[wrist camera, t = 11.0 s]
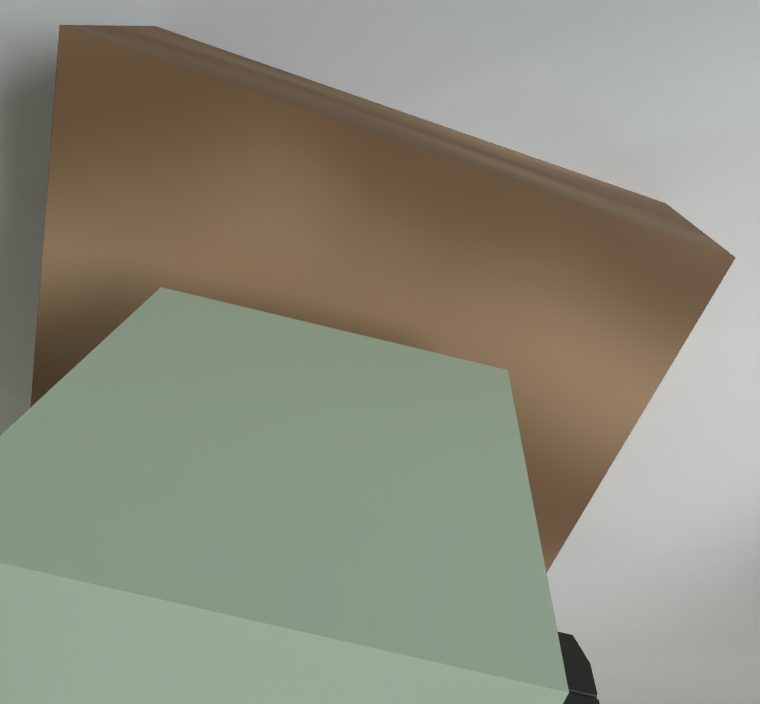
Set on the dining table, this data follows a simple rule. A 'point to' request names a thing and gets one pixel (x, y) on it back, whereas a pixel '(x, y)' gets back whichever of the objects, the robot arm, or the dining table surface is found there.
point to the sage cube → (270, 523)
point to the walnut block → (361, 240)
